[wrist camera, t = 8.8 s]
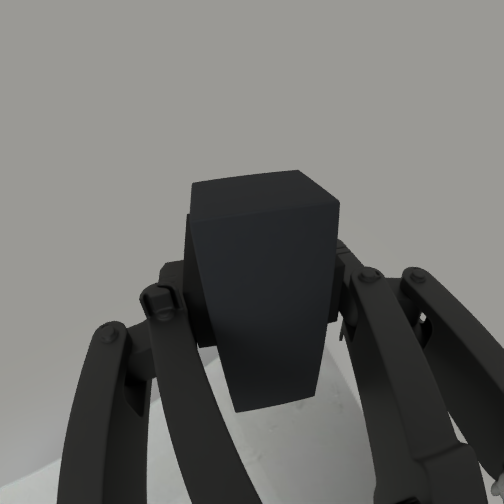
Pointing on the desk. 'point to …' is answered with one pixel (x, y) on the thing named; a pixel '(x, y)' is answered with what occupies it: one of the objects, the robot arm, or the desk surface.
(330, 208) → the black rectangular block
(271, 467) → the desk surface
